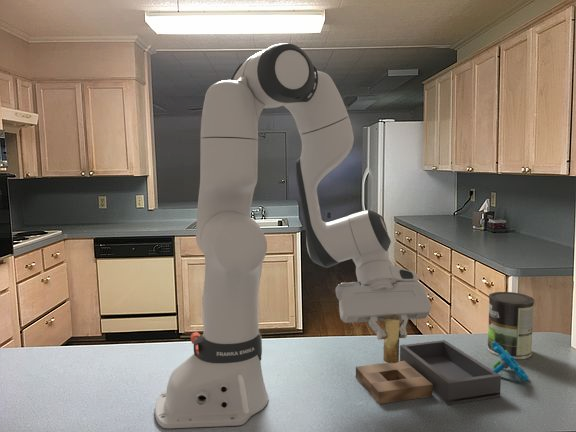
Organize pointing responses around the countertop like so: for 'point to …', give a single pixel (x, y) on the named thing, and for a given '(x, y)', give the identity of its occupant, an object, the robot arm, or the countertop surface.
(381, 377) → the block
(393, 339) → the pin
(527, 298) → the coffee can
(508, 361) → the blue notched toy part
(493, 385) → the tray
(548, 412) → the countertop surface
